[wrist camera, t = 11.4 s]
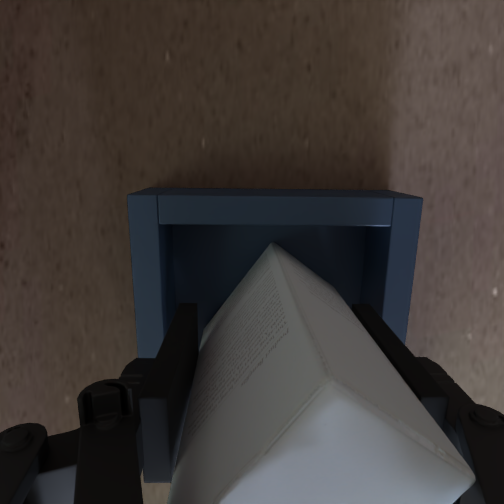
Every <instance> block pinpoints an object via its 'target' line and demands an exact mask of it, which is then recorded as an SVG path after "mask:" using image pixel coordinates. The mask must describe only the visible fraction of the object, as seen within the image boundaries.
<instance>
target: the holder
mask: <svg viewBox="0 0 504 504" xmlns="http://www.w3.org/2000/svg"><path fill="white" fill-rule="evenodd" d="M127 204H128V218H129V233H130V247H131V262H132V276H133V291H134V305H135V320H136V334H137V349H138V358H156V356H157V353H158V351H159V349H160V347H161V344H162V342H163V340H164V337H165V335H166V333H167V331H168V328H169V326H170V324H171V322H172V319H173V317H174V315H175V313H176V310H177V308H178V306H179V304H180V303H197V311H198V352H199V349H200V345H201V340H202V335H203V330H204V328H205V327H206V326H207V324H208V323H209V322H210V321H211V319H212V318H213V317H214V315H215V314H216V313H217V311H218V310H219V309H220V308H221V306H222V305H223V304H224V302H225V301H226V300H227V298H228V297H229V296H230V295H231V293H232V292H233V291H234V290H235V288H236V287H237V286H238V284H239V283H240V282H241V281H242V279H243V278H244V277H245V275H246V274H247V273H248V271H249V270H250V269H251V268H252V266H253V265H254V264H255V263H256V261H257V260H258V259H259V257H260V256H261V255H262V254H263V252H264V251H265V250H266V248H267V247H268V246H269V245H270V243H272V242H274V243H276V244H277V245H279V246H280V247H281V248H283V249H284V250H285V251H287V252H288V253H289V254H291V255H292V256H293V257H295V258H296V259H297V260H299V261H300V262H301V263H303V264H304V265H305V266H306V267H308V268H309V269H310V270H312V271H313V272H314V273H316V274H317V275H318V276H320V277H321V278H322V279H324V280H325V281H326V282H328V283H329V284H330V285H332V286H333V287H334V288H335V289H336V290H337V292H338V293H339V294H340V296H341V297H342V298H343V300H344V301H345V302H346V304H347V305H348V306H349V308H350V309H351V311H352V304H370V305H371V306H372V307H373V309H374V310H375V311H376V312H377V313H378V314H379V316H380V317H381V318H382V319H383V320H384V321H385V323H386V324H387V325H388V326H389V327H390V328H391V330H392V331H393V332H394V333H395V334H396V335H397V337H398V338H399V339H400V340H401V341H402V342H403V344H404V345H405V340H406V332H407V324H408V316H409V308H410V300H411V292H412V284H413V276H414V268H415V260H416V252H417V244H418V236H419V228H420V220H421V212H422V204H423V198H422V197H417V196H413V195H408V194H404V193H399V192H395V191H390V190H321V189H231V188H147V189H144V190H141V191H137V192H134V193H131V194H128V195H127ZM179 446H180V445H179Z"/></svg>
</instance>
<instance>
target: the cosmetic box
mask: <svg viewBox="0 0 504 504" xmlns="http://www.w3.org/2000/svg"><path fill="white" fill-rule="evenodd" d="M475 481H476V479H475V475H474V473H473V471H472V470H471V468H470V467H469V465H468V464H467V463H466V461H465V460H464V459H463V458H462V456H461V455H460V454H459V452H458V451H457V450H456V448H455V447H454V445H453V444H452V443H451V442H450V440H449V439H448V438H447V436H446V435H445V434H444V432H443V431H442V430H441V428H440V427H439V426H438V424H437V423H436V422H435V420H434V419H433V418H432V417H431V415H430V414H429V413H428V411H427V410H426V409H425V407H424V406H423V405H422V403H421V402H420V401H419V399H418V398H417V397H416V395H415V394H414V393H413V391H412V390H411V388H410V387H409V386H408V385H407V383H406V382H405V381H404V379H403V378H402V377H401V375H400V374H399V373H398V371H397V370H396V369H395V368H394V366H393V365H392V364H391V362H390V361H389V360H388V358H387V357H386V356H385V354H384V353H383V352H382V351H381V349H380V348H379V346H378V345H377V344H376V342H375V341H374V340H373V338H372V337H371V336H370V334H369V333H368V332H367V330H366V329H365V328H364V326H363V325H362V324H361V322H360V321H359V320H358V318H357V317H356V316H355V314H354V313H353V312H352V311H351V309H350V308H349V306H348V305H347V304H346V302H345V301H344V300H343V298H342V297H341V296H340V294H339V293H338V292H337V290H336V289H335V288H334V287H333V286H332V285H330V284H329V283H328V282H326V281H325V280H324V279H322V278H321V277H320V276H318V275H317V274H316V273H314V272H313V271H312V270H310V269H309V268H308V267H306V266H305V265H304V264H303V263H301V262H300V261H299V260H297V259H296V258H295V257H293V256H292V255H291V254H289V253H288V252H287V251H285V250H284V249H283V248H281V247H280V246H279V245H277V244H276V243H274V242H272V243H270V245H269V246H268V247H267V248H266V250H265V251H264V252H263V254H262V255H261V256H260V257H259V259H258V260H257V261H256V263H255V264H254V265H253V266H252V268H251V269H250V270H249V271H248V273H247V274H246V275H245V277H244V278H243V279H242V281H241V282H240V283H239V284H238V286H237V287H236V288H235V290H234V291H233V292H232V293H231V295H230V296H229V297H228V298H227V300H226V301H225V302H224V304H223V305H222V306H221V308H220V309H219V310H218V311H217V313H216V314H215V315H214V317H213V318H212V319H211V321H210V322H209V323H208V324H207V326H206V327H205V328H204V330H203V335H202V340H201V345H200V349H199V355H198V360H197V364H196V369H195V373H194V379H193V384H192V389H191V393H190V398H189V403H188V408H187V412H186V417H185V422H184V426H183V431H182V436H181V441H180V446H179V450H178V455H177V460H176V465H175V469H174V474H173V479H172V483H171V488H170V492H169V497H168V501H167V504H453V503H454V502H455V501H456V500H457V499H458V498H459V497H460V496H461V495H462V494H463V493H464V492H465V491H467V490H468V489H469V488H470V487H471V486H473V484H474V483H475Z"/></svg>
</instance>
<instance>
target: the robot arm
mask: <svg viewBox="0 0 504 504" xmlns="http://www.w3.org/2000/svg"><path fill="white" fill-rule="evenodd" d="M352 312H353V313H354V314H355V316H356V317H357V318H358V320H359V321H360V322H361V324H362V325H363V326H364V328H365V329H366V330H367V332H368V333H369V334H370V336H371V337H372V338H373V340H374V341H375V342H376V344H377V345H378V346H379V348H380V349H381V351H382V352H383V353H384V354H385V356H386V357H387V358H388V360H389V361H390V362H391V364H392V365H393V366H394V368H395V369H396V370H397V371H398V373H399V374H400V375H401V377H402V378H403V379H404V381H405V382H406V383H407V385H408V386H409V387H410V388H411V390H412V391H413V393H414V394H415V395H416V397H417V398H418V399H419V401H420V402H421V403H422V405H423V406H424V407H425V409H426V410H427V411H428V413H429V414H430V415H431V417H432V418H433V419H434V420H435V422H436V423H437V424H438V426H439V427H440V428H441V430H442V431H443V432H444V434H445V435H446V436H447V438H448V439H449V440H450V442H451V443H452V444H453V445H454V447H455V448H456V450H457V451H458V452H459V454H460V455H461V456H462V458H463V459H464V460H465V461H466V463H467V464H468V465H469V467H470V468H471V470H472V471H473V473H474V475H475V479H476V481H475V483H474V484H473V486H471V487H470V488H469V489H468V490H467V491H465V492H464V493H463V494H462V495H461V496H460V497H459V498H458V499H457V500H456V501H455V502H454V503H453V504H504V415H503V414H502V413H500V412H499V411H496V410H494V409H492V408H490V407H487V406H483V405H480V404H476V403H475V402H474V401H473V400H472V399H471V398H470V397H469V396H468V395H467V394H466V393H465V392H464V391H463V390H462V389H461V388H460V387H459V385H458V384H457V383H454V380H453V379H452V378H451V377H450V376H449V375H447V373H446V372H445V371H444V370H443V369H442V367H441V366H440V365H438V364H437V363H435V362H433V361H432V360H430V359H428V358H427V357H415V356H414V355H413V354H412V353H411V352H410V350H409V349H408V348H407V347H406V346H405V345H404V344H403V342H402V341H401V340H400V339H399V338H398V337H397V335H396V334H395V333H394V332H393V331H392V330H391V328H390V327H389V326H388V325H387V324H386V323H385V321H384V320H383V319H382V318H381V317H380V316H379V314H378V313H377V312H376V311H375V310H374V309H373V307H372V306H371V305H370V304H352ZM198 355H199V352H198V311H197V303H180V304H179V306H178V308H177V310H176V313H175V315H174V317H173V319H172V322H171V324H170V326H169V328H168V331H167V333H166V335H165V337H164V340H163V342H162V344H161V347H160V349H159V351H158V353H157V356H156V358H136V359H134V360H133V361H132V362H130V363H129V364H128V365H126V367H125V368H124V370H123V372H122V374H121V377H119V379H107V380H102V381H98V382H95V383H93V384H91V385H89V386H87V387H86V388H85V389H84V390H82V391H81V392H80V394H79V396H78V398H77V401H78V410H79V418H80V428H78V429H76V430H73V431H69V432H65V433H61V434H56V435H52V436H48V435H47V431H46V429H45V427H44V426H42V425H40V424H38V423H25V424H20V425H16V426H14V427H11V428H8V429H6V430H4V431H3V432H1V433H0V504H143V498H142V488H141V479H140V475H141V472H142V469H143V476H144V483H171V481H172V477H173V472H174V468H175V463H176V459H177V454H178V450H179V445H180V441H181V436H182V431H183V426H184V422H185V417H186V412H187V408H188V403H189V398H190V393H191V389H192V384H193V379H194V373H195V369H196V364H197V360H198Z"/></svg>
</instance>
